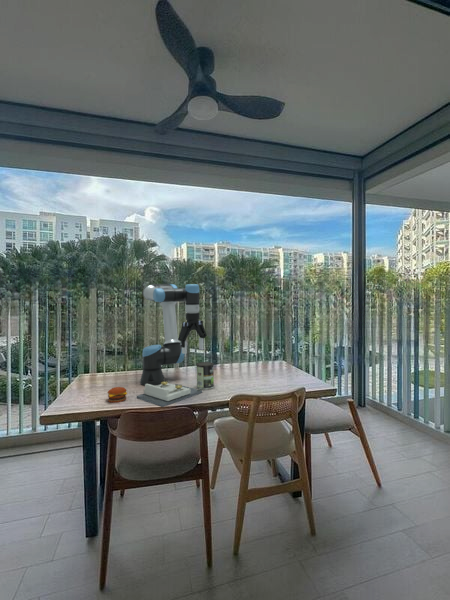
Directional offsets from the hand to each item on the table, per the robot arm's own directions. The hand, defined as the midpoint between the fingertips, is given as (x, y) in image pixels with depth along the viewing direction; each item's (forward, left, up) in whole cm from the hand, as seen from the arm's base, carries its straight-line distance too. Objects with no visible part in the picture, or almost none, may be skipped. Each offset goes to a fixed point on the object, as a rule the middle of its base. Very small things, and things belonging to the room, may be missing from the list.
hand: (193, 351), depth 166 cm
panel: (-11, -9, -23) cm, 27 cm away
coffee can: (-6, +16, -25) cm, 30 cm away
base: (-11, -7, -24) cm, 28 cm away
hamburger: (-28, -29, -25) cm, 48 cm away
